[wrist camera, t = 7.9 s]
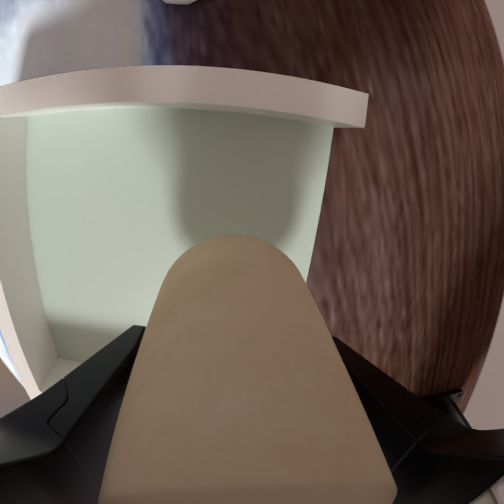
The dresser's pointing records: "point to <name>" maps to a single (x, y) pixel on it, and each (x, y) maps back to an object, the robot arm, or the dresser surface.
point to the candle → (241, 393)
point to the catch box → (146, 191)
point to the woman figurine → (179, 1)
